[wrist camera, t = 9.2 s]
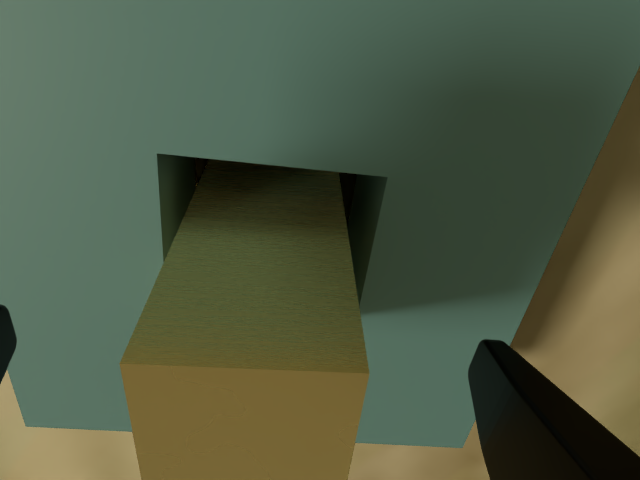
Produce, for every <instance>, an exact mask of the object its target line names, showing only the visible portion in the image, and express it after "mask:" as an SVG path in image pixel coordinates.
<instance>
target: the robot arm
mask: <svg viewBox="0 0 640 480" xmlns="http://www.w3.org/2000/svg"><path fill="white" fill-rule="evenodd" d="M16 345H17V337H16V333H15V330H14V326H13V323H12V319H11V316H10V313H9V310H8V308H7V307H6V306H4V305H1V304H0V384H1V381H2V379H3V377H4V375H5V372H6V370H7V368H8V365H9V363H10V361H11V359H12V356H13V354H14V352H15V349H16ZM468 381H469V386H470V391H471V397H472V402H473V407H474V413H475V418H476V423H477V429H478V434H479V439H480V444H481V449H482V453H483V456H484V460H485V464H486V467H487V470H488V474H489V477H490V480H640V457H639V456H638V455H637V454H636V453H635V452H633V451H632V450H631V449H630V448H629V447H627V446H626V445H625V444H624V443H623V442H622V441H620V440H619V439H618V438H617V437H616V436H615V435H613V434H612V433H611V432H610V431H609V430H607V429H606V428H605V427H604V426H603V425H602V424H600V423H599V422H598V421H597V420H596V419H595V418H593V417H592V416H591V415H590V414H589V413H587V412H586V411H585V410H584V409H583V408H582V407H580V406H579V405H578V404H577V403H576V402H575V401H573V400H572V399H571V398H570V397H569V396H567V395H566V394H565V393H564V392H563V391H562V390H560V389H559V388H558V387H557V386H556V385H555V384H553V383H552V382H551V381H550V380H549V379H547V378H546V377H545V376H544V375H543V374H542V373H540V372H539V371H538V370H537V369H536V368H535V367H533V366H532V365H531V364H530V363H529V362H527V361H526V360H525V359H524V358H523V357H522V356H520V355H519V354H518V353H517V352H516V351H515V350H513V349H512V348H511V347H510V346H509V345H507V344H506V343H505V342H503V341H501V340H492V339H483V340H481V341H480V342H479V344H478V346H477V349H476V351H475V354H474V356H473V358H472V361H471V363H470V366H469V369H468Z"/></svg>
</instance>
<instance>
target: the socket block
mask: <svg viewBox="0 0 640 480" xmlns="http://www.w3.org/2000/svg"><path fill="white" fill-rule="evenodd" d="M639 66H640V0H0V304H1V305H4V306H6V307H7V308H8V310H9V313H10V316H11V319H12V323H13V326H14V330H15V333H16V337H17V345H16V349H15V352H14V354H13V356H12V359H11V361H10V363H9V365H8V368H7V370H8V373H9V376H10V379H11V382H12V385H13V389H14V392H15V395H16V398H17V401H18V404H19V407H20V410H21V413H22V416H23V419H24V422H25V426H27V427H47V428H67V429H88V430H108V431H128V432H132V427H131V422H130V416H129V411H128V406H127V401H126V396H125V390H124V385H123V380H122V375H121V370H120V364H119V363H120V361H121V359H122V357H123V354H124V352H125V350H126V347H127V345H128V343H129V341H130V338H131V336H132V334H133V331H134V329H135V327H136V325H137V322H138V320H139V318H140V316H141V313H142V311H143V309H144V306H145V304H146V302H147V300H148V297H149V295H150V293H151V290H152V288H153V286H154V284H155V281H156V279H157V277H158V274H159V272H160V270H161V268H162V265H163V263H164V261H165V258H166V256H167V254H168V252H169V249H170V247H171V245H172V243H173V240H174V238H175V236H176V233H177V231H178V229H179V227H180V224H181V222H182V220H183V217H184V215H185V213H186V211H187V208H188V206H189V204H190V201H191V199H192V197H193V195H194V192H195V157H197V158H207V159H216V160H226V161H236V162H246V163H255V164H265V165H275V166H285V167H294V168H304V169H314V170H323V171H333V172H343V173H353V174H357V178H356V183H355V189H354V194H353V200H352V205H351V211H350V216H349V222H348V227H347V231H348V237H349V244H350V250H351V257H352V263H353V270H354V276H355V283H356V289H357V295H358V302H359V308H360V315H361V321H362V328H363V334H364V341H365V347H366V354H367V360H368V367H369V373H370V374H369V379H368V383H367V388H366V393H365V398H364V403H363V407H362V412H361V417H360V422H359V426H358V431H357V436H356V441H355V443H372V444H392V445H412V446H432V447H453V448H463V445H464V443H465V441H466V439H467V437H468V435H469V432H470V430H471V428H472V426H473V424H474V422H475V420H476V418H475V413H474V407H473V402H472V397H471V391H470V386H469V381H468V369H469V366H470V363H471V361H472V358H473V356H474V354H475V351H476V349H477V346H478V344H479V342H480V341H481V340H483V339H492V340H501V341H503V342H505V343H506V344H507V345H509V346H510V344H511V342H512V340H513V338H514V335H515V333H516V331H517V329H518V327H519V325H520V323H521V320H522V318H523V316H524V314H525V312H526V310H527V307H528V305H529V303H530V301H531V299H532V297H533V295H534V292H535V290H536V288H537V286H538V284H539V282H540V279H541V277H542V275H543V273H544V271H545V269H546V267H547V264H548V262H549V260H550V258H551V256H552V254H553V251H554V249H555V247H556V245H557V243H558V241H559V239H560V236H561V234H562V232H563V230H564V228H565V226H566V223H567V221H568V219H569V217H570V215H571V213H572V211H573V208H574V206H575V204H576V202H577V200H578V198H579V195H580V193H581V191H582V189H583V187H584V185H585V183H586V180H587V178H588V176H589V174H590V172H591V170H592V167H593V165H594V163H595V161H596V159H597V157H598V155H599V152H600V150H601V148H602V146H603V144H604V142H605V139H606V137H607V135H608V133H609V131H610V129H611V126H612V124H613V122H614V120H615V118H616V116H617V114H618V111H619V109H620V107H621V105H622V103H623V101H624V98H625V96H626V94H627V92H628V90H629V88H630V86H631V83H632V81H633V79H634V77H635V75H636V73H637V70H638V68H639Z"/></svg>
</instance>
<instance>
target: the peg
mask: <svg viewBox="0 0 640 480" xmlns="http://www.w3.org/2000/svg"><path fill="white" fill-rule="evenodd" d="M119 364H120V370H121V375H122V380H123V385H124V390H125V396H126V401H127V406H128V411H129V416H130V422H131V427H132V432H133V437H134V442H135V448H136V453H137V458H138V463H139V468H140V474H141V479H142V480H347V479H348V474H349V469H350V465H351V460H352V455H353V450H354V445H355V441H356V436H357V431H358V426H359V422H360V417H361V412H362V407H363V403H364V398H365V393H366V388H367V383H368V379H369V374H370V373H369V367H368V360H367V354H366V347H365V341H364V334H363V328H362V321H361V315H360V308H359V302H358V295H357V289H356V283H355V276H354V270H353V263H352V257H351V250H350V244H349V237H348V231H347V224H346V218H345V211H344V205H343V198H342V192H341V185H340V179H339V172H333V171H323V170H314V169H304V168H294V167H285V166H275V165H265V164H255V163H246V162H236V161H226V160H216V159H209V160H208V163H207V165H206V167H205V170H204V172H203V174H202V176H201V179H200V181H199V183H198V186H197V188H196V190H195V192H194V195H193V197H192V199H191V201H190V204H189V206H188V208H187V211H186V213H185V215H184V217H183V220H182V222H181V224H180V227H179V229H178V231H177V233H176V236H175V238H174V240H173V243H172V245H171V247H170V249H169V252H168V254H167V256H166V258H165V261H164V263H163V265H162V268H161V270H160V272H159V274H158V277H157V279H156V281H155V284H154V286H153V288H152V290H151V293H150V295H149V297H148V300H147V302H146V304H145V306H144V309H143V311H142V313H141V316H140V318H139V320H138V322H137V325H136V327H135V329H134V331H133V334H132V336H131V338H130V341H129V343H128V345H127V347H126V350H125V352H124V354H123V357H122V359H121V361H120V363H119Z"/></svg>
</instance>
